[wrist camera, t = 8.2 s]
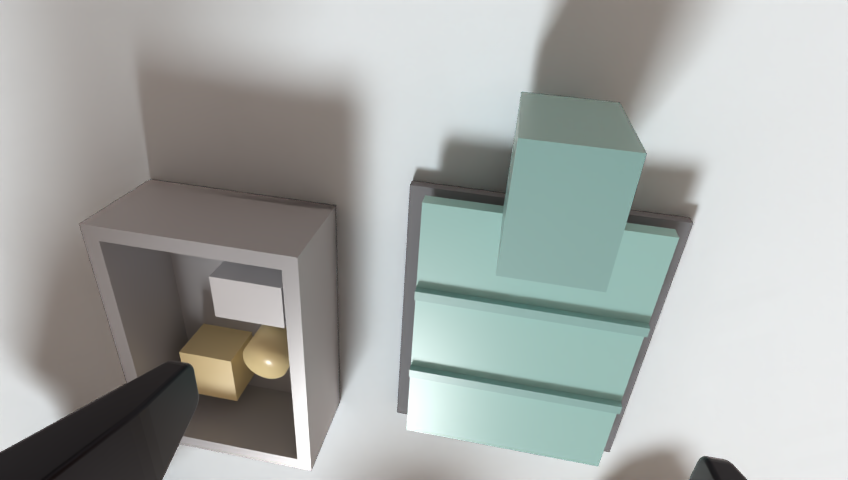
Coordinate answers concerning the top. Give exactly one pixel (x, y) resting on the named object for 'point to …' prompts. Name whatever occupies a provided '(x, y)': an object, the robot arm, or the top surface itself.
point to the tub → (227, 310)
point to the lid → (538, 290)
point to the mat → (497, 198)
